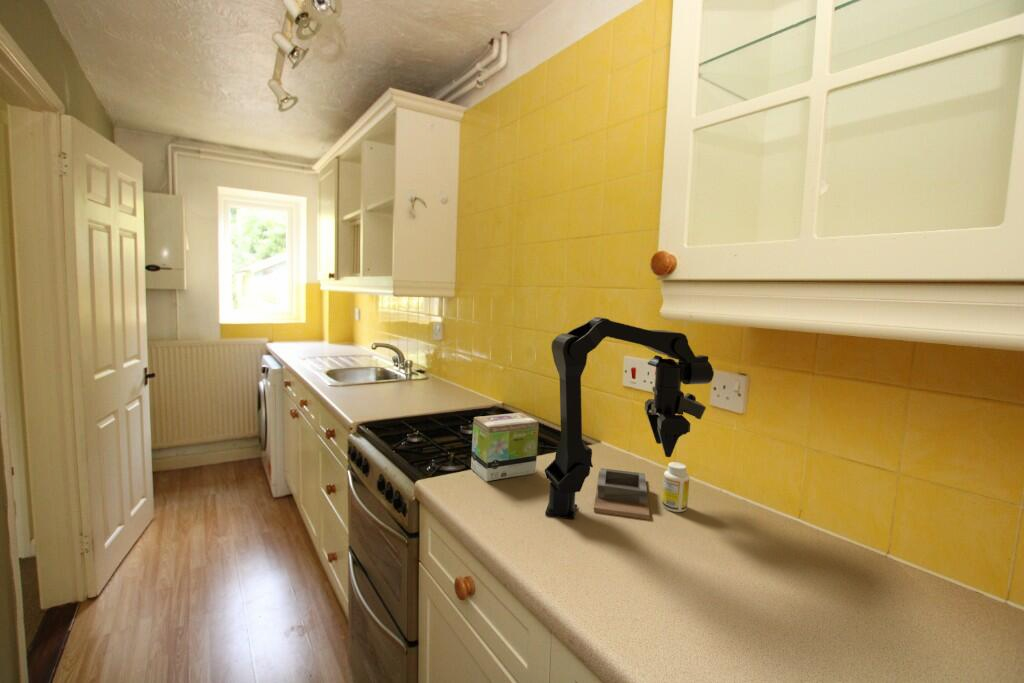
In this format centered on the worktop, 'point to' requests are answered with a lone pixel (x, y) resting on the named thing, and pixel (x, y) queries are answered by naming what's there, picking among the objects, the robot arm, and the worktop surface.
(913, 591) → the worktop surface
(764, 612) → the worktop surface
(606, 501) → the board
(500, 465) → the tea box
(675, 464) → the supplement bottle
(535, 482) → the worktop surface
